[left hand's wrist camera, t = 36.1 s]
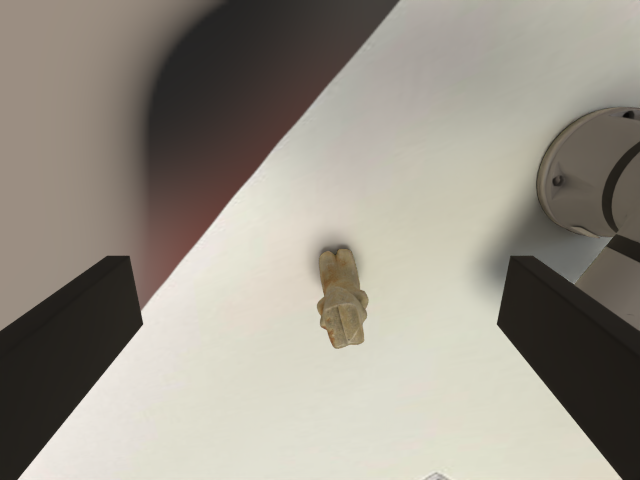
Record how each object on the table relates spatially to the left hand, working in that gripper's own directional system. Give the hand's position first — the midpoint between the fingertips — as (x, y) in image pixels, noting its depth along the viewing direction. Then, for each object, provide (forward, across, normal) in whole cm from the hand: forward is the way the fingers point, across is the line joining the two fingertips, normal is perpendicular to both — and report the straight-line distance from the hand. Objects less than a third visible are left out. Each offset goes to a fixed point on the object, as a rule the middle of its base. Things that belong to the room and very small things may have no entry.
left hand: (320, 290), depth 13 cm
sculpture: (+34, +3, -15) cm, 37 cm away
